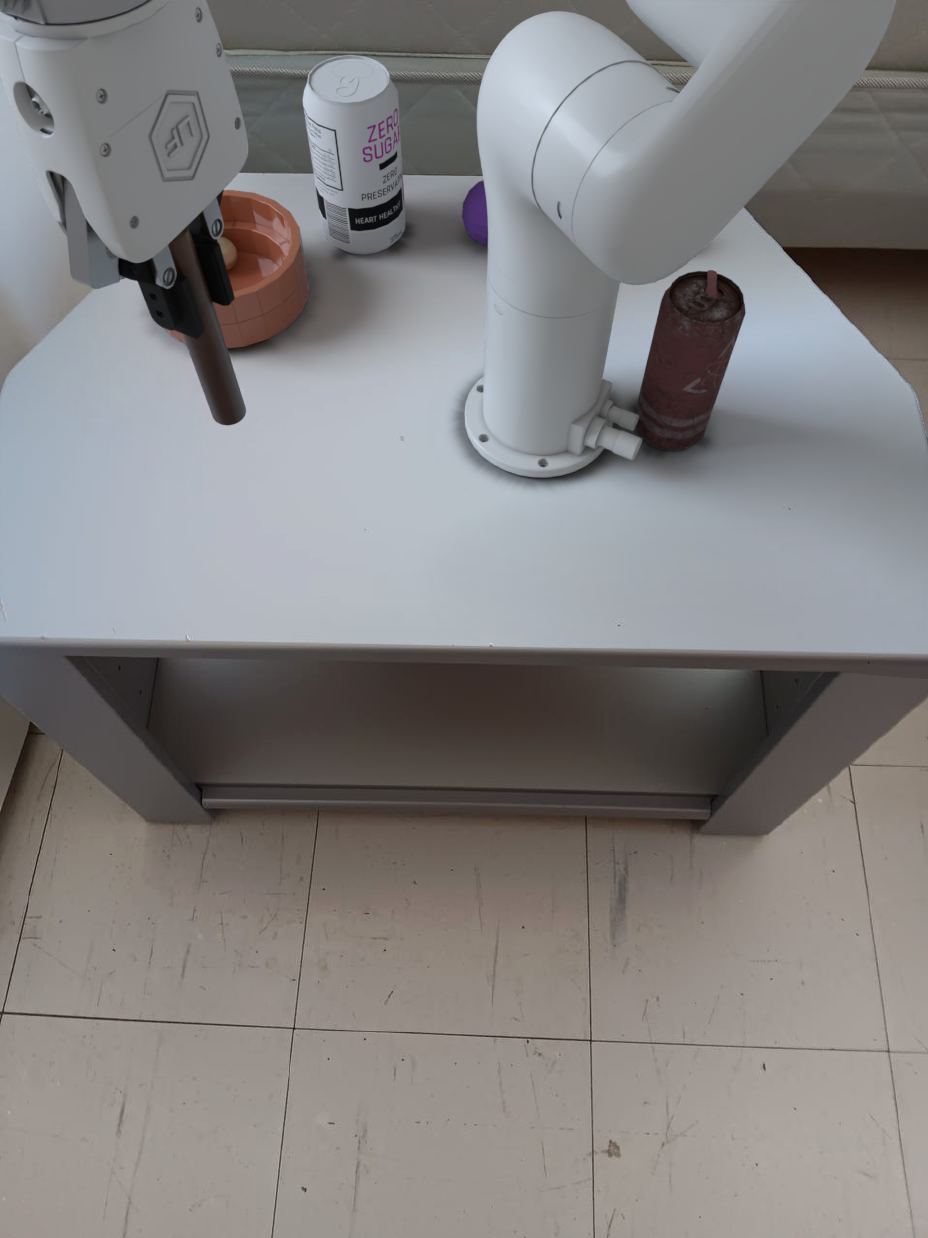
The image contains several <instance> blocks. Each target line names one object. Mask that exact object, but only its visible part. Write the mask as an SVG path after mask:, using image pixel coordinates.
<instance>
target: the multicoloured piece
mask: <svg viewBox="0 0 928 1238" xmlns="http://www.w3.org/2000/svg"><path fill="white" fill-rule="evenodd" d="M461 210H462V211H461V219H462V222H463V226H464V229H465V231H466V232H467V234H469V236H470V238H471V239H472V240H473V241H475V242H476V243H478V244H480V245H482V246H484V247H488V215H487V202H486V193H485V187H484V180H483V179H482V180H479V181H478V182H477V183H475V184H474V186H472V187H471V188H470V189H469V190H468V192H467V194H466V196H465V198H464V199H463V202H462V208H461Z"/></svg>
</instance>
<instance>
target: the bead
mask: <svg viewBox="0 0 928 1238" xmlns="http://www.w3.org/2000/svg"><path fill="white" fill-rule="evenodd" d="M217 241H218V243H219V244H220V247H221V251H222V254H223V258H224V261H225V265H226V268H227V270H229V269H231V268H232V267H233V266H234V265H235V263H236V261H237V250H236V247H235V246H234V244H233V243H232V242H231V241H230V240H228V239H227V238H224V237H220V238H218V239H217Z"/></svg>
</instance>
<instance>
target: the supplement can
mask: <svg viewBox="0 0 928 1238" xmlns="http://www.w3.org/2000/svg"><path fill="white" fill-rule="evenodd" d="M306 81H307V82H306V84H305V86H304V90H303V95H302V106H303V113H304V119H305V120H304V121H305V127H306V132H307V139H308V140H307V141H308V147H309V152H310V159H311V166H312V171H313V178H314V185H315V193H316V198H317V204H318V205H317V206H318V211H319V218H320V225H321V230H322V232H323V234H324V237H325V239H326V240H327V241H329V242H330V243H331V244H332V245H333V246H335V247H336V248H338V249H340V250H342V251H344V252H347V253H350V254H356V255H371V254H377V253H380V252H381V251H385V250H387V249H389V248H390V247H391V246H392V245H393V244H395V243H396V242H397V241H398V240H399V239H400V238H401V237H402V235H403V233H404V232H405V230H406V221H407V219H406V205H405V190H404V189H405V186H404V171H403V155H402V140H401V139H402V138H401V123H400V121H401V120H400V105H399V104H400V103H399V90H398V89H397V87H396V85H395V84H394V82H393V80H392V78H391V77H390V73H389V71H388V69H387V67H386V66H385V65H384V64H382V63H381V62H380V61H378V60H376V59H374V58H370V57H369V56H365V55H355V54H347V55H346V54H345V55H337V56H334V57H330V58H328V59H324V60H323V61H321V62H319V63H317V64H316V65H314V66H313V68H312V69H311V70H310V72H309V73H308V74H307V80H306Z"/></svg>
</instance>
